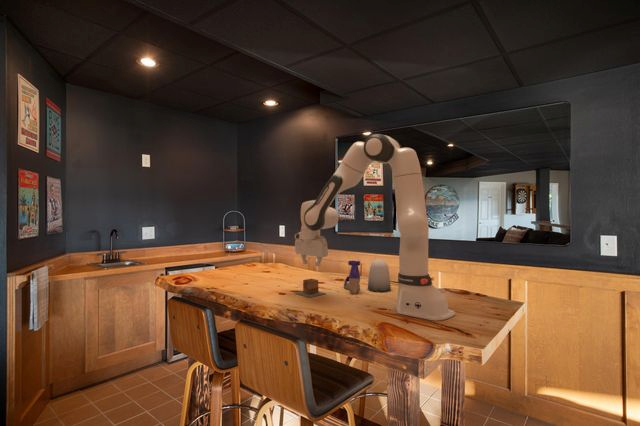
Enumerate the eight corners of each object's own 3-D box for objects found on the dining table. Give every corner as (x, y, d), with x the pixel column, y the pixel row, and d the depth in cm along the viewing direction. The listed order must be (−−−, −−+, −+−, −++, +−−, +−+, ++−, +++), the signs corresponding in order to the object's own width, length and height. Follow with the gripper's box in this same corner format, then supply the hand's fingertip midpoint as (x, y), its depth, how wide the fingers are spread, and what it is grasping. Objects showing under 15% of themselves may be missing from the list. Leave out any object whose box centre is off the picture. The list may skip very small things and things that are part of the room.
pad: (325, 294, 168) (325, 293, 168) (308, 298, 161) (308, 296, 161) (312, 290, 175) (312, 289, 175) (295, 293, 169) (295, 292, 169)
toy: (390, 287, 181) (390, 257, 181) (391, 292, 170) (391, 261, 170) (368, 286, 183) (368, 257, 183) (367, 291, 172) (367, 260, 172)
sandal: (359, 285, 187) (359, 256, 186) (360, 294, 167) (360, 262, 167) (343, 285, 187) (343, 256, 187) (343, 294, 168) (343, 262, 167)
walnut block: (318, 293, 168) (318, 280, 168) (309, 294, 165) (309, 281, 164) (311, 291, 172) (311, 278, 172) (303, 292, 168) (303, 279, 168)
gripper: (330, 235, 162) (331, 266, 162) (302, 234, 177) (303, 262, 178) (320, 236, 158) (320, 268, 158) (292, 234, 173) (293, 263, 173)
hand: (311, 265), depth 168 cm, fingers open, 8 cm apart
